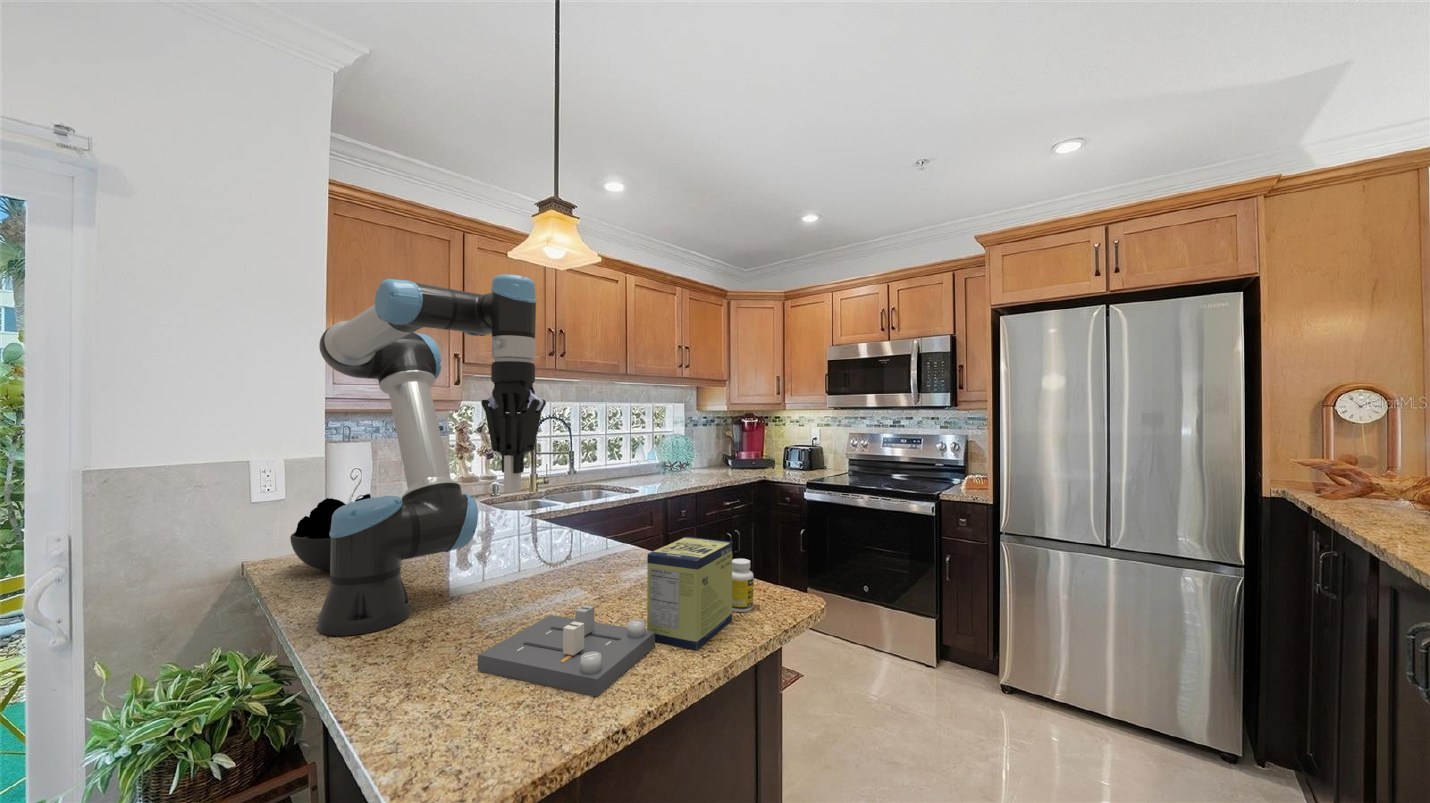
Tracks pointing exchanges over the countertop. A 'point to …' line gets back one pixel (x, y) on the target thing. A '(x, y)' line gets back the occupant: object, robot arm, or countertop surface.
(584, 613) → the fader grey
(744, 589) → the supplement bottle
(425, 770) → the countertop surface
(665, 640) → the protein box
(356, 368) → the robot arm
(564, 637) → the fader cream
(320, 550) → the coal bowl
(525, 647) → the console
